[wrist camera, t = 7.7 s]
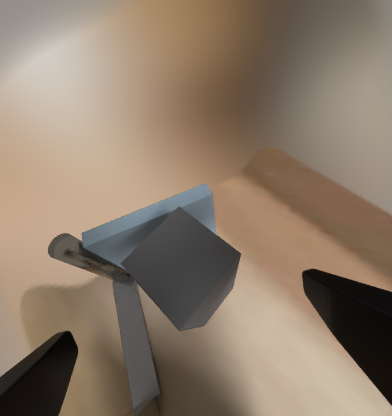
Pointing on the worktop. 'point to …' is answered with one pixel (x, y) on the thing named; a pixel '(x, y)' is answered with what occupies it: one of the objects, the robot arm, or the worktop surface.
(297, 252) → the worktop surface
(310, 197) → the worktop surface
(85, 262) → the door frame
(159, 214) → the door
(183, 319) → the block
